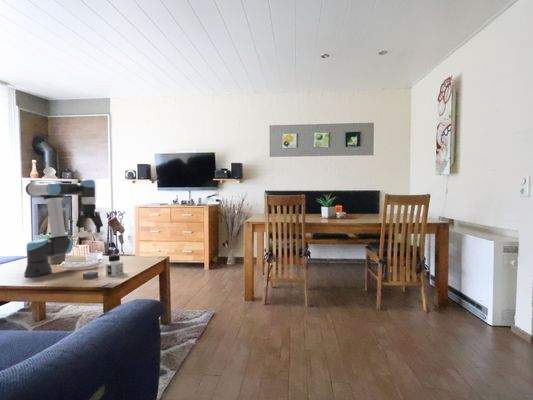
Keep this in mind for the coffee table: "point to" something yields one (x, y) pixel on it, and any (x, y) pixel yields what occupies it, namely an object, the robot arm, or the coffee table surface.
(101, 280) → the coffee table surface
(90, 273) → the stand
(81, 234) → the lid
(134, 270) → the coffee table surface
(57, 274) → the coffee table surface
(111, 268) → the container
